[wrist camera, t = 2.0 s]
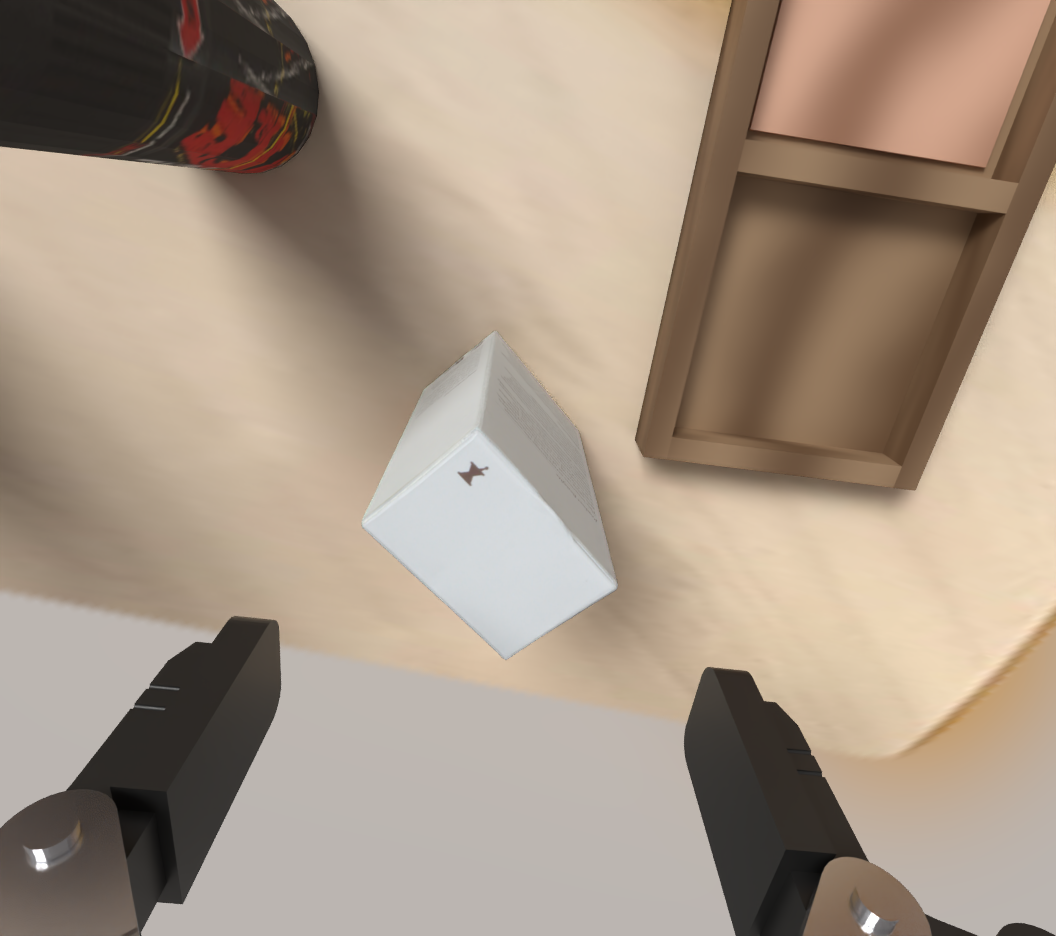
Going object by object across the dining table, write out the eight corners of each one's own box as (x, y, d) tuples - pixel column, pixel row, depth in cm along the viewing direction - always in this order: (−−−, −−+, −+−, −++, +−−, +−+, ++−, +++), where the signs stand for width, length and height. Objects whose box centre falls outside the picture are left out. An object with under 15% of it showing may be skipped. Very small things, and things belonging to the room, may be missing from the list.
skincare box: (420, 389, 26) (350, 522, 15) (495, 326, 25) (478, 420, 14) (510, 488, 28) (504, 668, 17) (583, 433, 27) (627, 587, 16)
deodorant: (288, -37, 21) (-179, -529, 7) (338, 158, 23) (66, 88, 9) (120, -4, 21) (-654, -407, 7) (186, 186, 23) (-300, 161, 9)
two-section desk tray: (635, 439, 27) (643, 456, 26) (791, -268, 18) (821, -320, 17) (889, 471, 28) (915, 490, 26) (1158, -192, 19) (1225, -233, 17)
